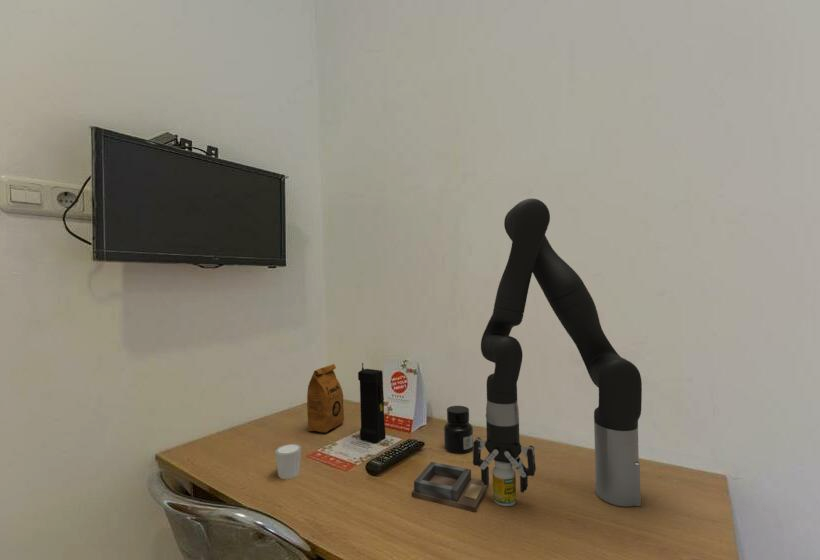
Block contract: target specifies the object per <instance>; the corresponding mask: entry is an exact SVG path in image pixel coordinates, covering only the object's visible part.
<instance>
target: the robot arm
mask: <svg viewBox="0 0 820 560" xmlns="http://www.w3.org/2000/svg"><path fill="white" fill-rule="evenodd" d="M550 220H551V215H550V211H549V208H548V206H547V205H546V203H544V201H542V200H540V199H537V198H526V199H523V200H522V201H519V202H518V203H517V204H516V205H514V206H513V207H511V208H510V210H509V211H508V212H507V213H506V215H505V217H504V222H503V223H504V225H503V226H504V230H505V233H506V235H507V236H508V237H509V239H510V240H511V247H510V252H509V256H508V258H507V259H508V260H507V263H506V265H505V268H504V271H503V273H502V276H501V278H500V280H499V285H498V287H497V291H496V295H495V299H494V300H495V301H494V304H493V310H492V314H491V317H490V319H488V322H487V325H486V327H485V329H484V331H483V333H482V336H481V340H480V351H481V354H482V356H483V358H484V359H485V360H486V361H489V362H492V363H494V364H495V365H494V370H493V371H494V372H493V373H491V374H489V375H488V376H487V379H486V404H485V405H486V407H485V420H486V421H485V422H486V424H485V425H486V440H483V439H482V438H480V437H479V436H478V437H476V439H475V440H473V449H472V451H473V452H472V453H473V454H472V464H473V466H477V467H479V468H480V473H481V474H480V475H481V479H480V480H482V482H484V485H488V483H489V484H490V472H489V471H490V468H489V465H490V464H491V463H492V462H493V460H494V462H495V461H499V462H505V463H511V464H512V467H513V469H514V470H516V471H517V472H518V473H519V474H520V476H519V482H520V484H519V485H520V490H519V491H520V493H523V494H524V493H525V491H527V489H528V487H529V484H528V483H529V482H528V481H529V479H528V477H529V476H530V477H534V476H535V474H536V470H537V469H536V456H535V447H534V446H533V445H529V446H522V445H521V441H520V412H519V404H518V384H517V383H518V381H519V377H520V372H521V367H522V363H523V349H522V345H521V343H520V341H519V340H518V339H517V338H515V337H513V336H511V335H510V334H511V331H512V329H513V328H514V327H517V326H520V325H521V323H522V321H523V318H524V314H525V310H526V305H527V304H526V303H527V299H528V294H529V288H530V284H531V279H532V276H533V277H534V278H535V280H536V281H537V284H538V285H539V287H540V289H541V290H542V292H543V294H544V297H545V298H546V300H547V302H548V304H549V306H550V307H551V309H552V311H553V312H554V314H555V316H556V317H557V319H558V320H559V322H560V324H561V326H562V327H563V329H564V330H565V331H566V333H567V334H568V336H569V337H570V338H571V340H572V342H573V343H574V345H575V346H576V348H577V350H578V353H579V355H580V356H581V359H582V362H583V363H584V365H585V369H586V371H587V374H588V376H589V378H590V380H591V381H592V384H594V385H595V386H596V387H597V388H598V406H597V407H596V408H595V409H594V411H593V421H594V422H593V424H594V425H593V426H594V427H593V428H594V430H593V431H594V433H593V434H594V464H595V465H594V471H595V472H594V473H595V474H594V475H595V493H596V495H597V497H598V498H600V499H601V500H602V501H604V502H606V503H609V504H610V505H614V506H618V507H627V508H628V507H641V506H642V503H641V502H642V501H641V500H642V499H641V463H640V461H639V459H640V458H639V452H640V451H639V419H640V418H641V415H642V402H643V401H642V399H643V398H642V397H643V396H642V395H643V394H642V393H643V392H642V391H643V388H642V387H643V385H642V383H643V381H642V376H641V372H640V371H639V368H638V367H637V366H636V365H635V364H634V363H632V362H631V361H629V360H628V359H626V358H624V357H622V356H620V354H618V352H617V351H616V350H615V348H614V347H613V346H612V344H611V342H610V340H609V339H608V338H607V336H606V334H605V333H604V330H603V329H602V325H601V321H600V318H599V314H598V310H597V306H596V303H595V301H594V298H593V297H592V296H591V293H590V292H589V290H588V288H587V287H586V285H585V283H584V281H583V279H582V278H581V277H580V275H579V274H578V273H577V272H576V271H575V270H574V269H573V268H572V267H571V266H570V265H569V264H568V263H567V262H566V261H565V260H564V259H563V258H562V257H561V256H559V254H558V253H557V252H556V251H555V250H554V248H553V247H552V244H550V242H549V240H548V238H547V236H546V233H547V231H548V228H549V225H550V222H551V221H550ZM484 447H485V449H486V451H487V452H488V454H487V456H486V457H485V458H484V460H483V459H482V458H481V455H482V452H481V451H482V450H483V448H484ZM522 453H523V455H524V457H525V458H526V459H527V466H526V465H525V464H524V461H523V459H522V458H521V456H520V454H522Z"/></svg>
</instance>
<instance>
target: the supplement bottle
mask: <svg viewBox="0 0 820 560" xmlns="http://www.w3.org/2000/svg"><path fill="white" fill-rule="evenodd" d="M516 477H517V474H516V469H515V468H514V467H513V465H512V464H511V463H505V462H499V461H495V460H494V467H493V468H492V491H493V492H492V494H493V495H492V496H493V501H494V502H495V503H496V504H497V505H499V506H502V507H511V506H514V505H515V504H516V503H517V480H516V479H517V478H516Z"/></svg>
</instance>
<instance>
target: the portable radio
mask: <svg viewBox="0 0 820 560" xmlns="http://www.w3.org/2000/svg"><path fill="white" fill-rule="evenodd" d="M361 364H362V365H361V366H362V367H361V370H360V371H358V372H357V378H358V379H357V380H358V381H359V395H360V396H359V398H360V400H359V401H360V430H359V439H360V441H364V442H367V443H372V444H376V443H378V442H380V441H382V440H384V439H385V438H387V435H386V424H385V423H386V420H385V402H384V400H385V398H384V397H385V394H384V381H383V380H384V377H383V372H384V371H383V370H379V369H371V368H364V363H363V362H362V363H361Z"/></svg>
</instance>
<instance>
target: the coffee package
mask: <svg viewBox="0 0 820 560" xmlns="http://www.w3.org/2000/svg"><path fill="white" fill-rule="evenodd" d="M334 370H336V365H335V364H334V363H333V364H330V365H326V366H324V367H319V368H318V369H316V370H313V373H312V375H311V378H310V380H309V383H308V386H307V391H306V392H307V395H306V399H307V400H306V401H307V402H306V408H307V409H306V410H307V429H308V430H307V431H308V432H319V433H328V432H329V431H331V430H332V429H335V428H337V427H339V426H340V425H342V424H343V423H344V421H345V413H344V412H345V410H344V393H343V388H342V386H341V383H340V381H339V380H338V378H337V376H336V373H335V371H334Z"/></svg>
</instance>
